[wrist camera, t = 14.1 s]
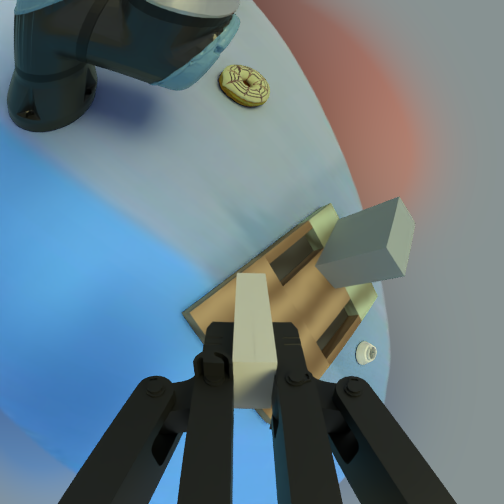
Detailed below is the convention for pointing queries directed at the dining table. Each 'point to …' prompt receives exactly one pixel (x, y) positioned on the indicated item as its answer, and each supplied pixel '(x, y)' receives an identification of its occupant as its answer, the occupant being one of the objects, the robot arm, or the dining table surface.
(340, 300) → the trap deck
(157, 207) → the dining table surface
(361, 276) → the grey block
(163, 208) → the dining table surface
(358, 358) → the white jar
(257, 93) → the decorated donut
